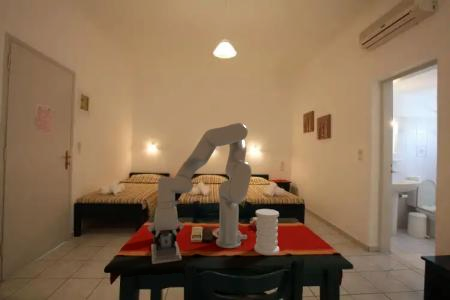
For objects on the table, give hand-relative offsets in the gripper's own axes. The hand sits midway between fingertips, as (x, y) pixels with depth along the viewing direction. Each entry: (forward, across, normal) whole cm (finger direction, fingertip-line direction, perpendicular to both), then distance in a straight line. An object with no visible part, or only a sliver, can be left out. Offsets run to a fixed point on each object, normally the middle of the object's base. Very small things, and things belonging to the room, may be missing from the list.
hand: (165, 243), depth 106 cm
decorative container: (+5, -46, +10) cm, 47 cm away
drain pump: (+3, 0, 0) cm, 3 cm away
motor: (+4, 0, -16) cm, 17 cm away
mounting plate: (+4, 0, 0) cm, 4 cm away
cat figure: (+5, -56, -15) cm, 58 cm away
